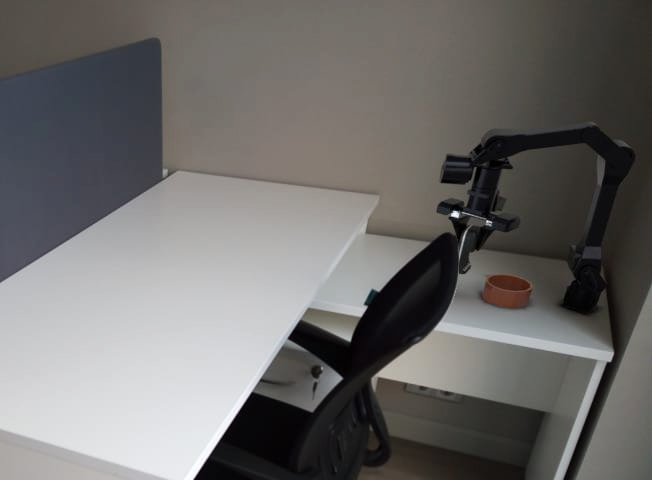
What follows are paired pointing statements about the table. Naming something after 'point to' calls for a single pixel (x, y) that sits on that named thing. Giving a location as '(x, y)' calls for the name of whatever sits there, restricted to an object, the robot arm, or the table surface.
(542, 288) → the table surface
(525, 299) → the bowl
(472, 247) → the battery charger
